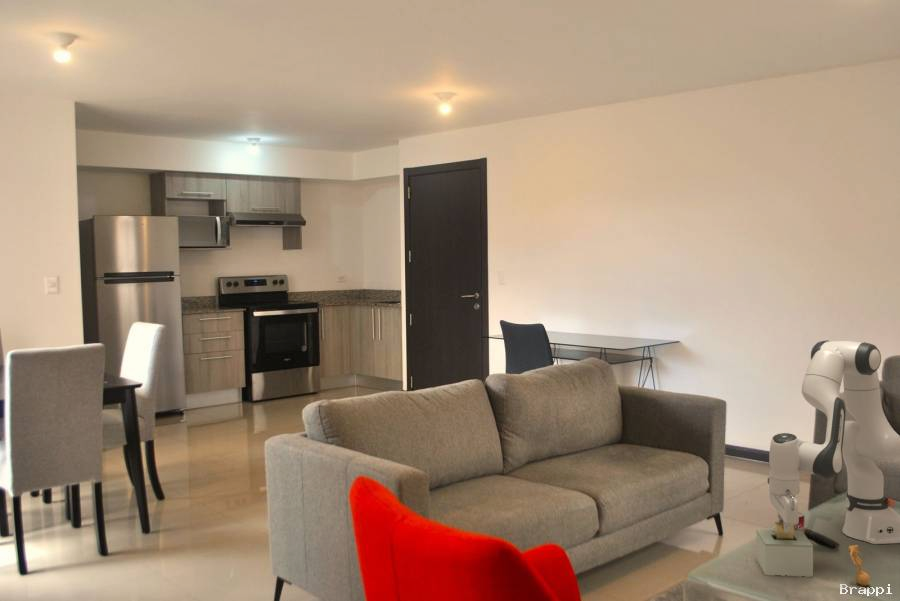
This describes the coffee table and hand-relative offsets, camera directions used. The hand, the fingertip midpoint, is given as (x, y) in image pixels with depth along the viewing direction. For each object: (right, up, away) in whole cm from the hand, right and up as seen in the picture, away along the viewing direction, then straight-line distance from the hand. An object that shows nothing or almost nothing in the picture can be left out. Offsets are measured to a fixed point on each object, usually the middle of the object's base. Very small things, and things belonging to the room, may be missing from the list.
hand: (784, 528), depth 250 cm
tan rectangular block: (0, -4, 0) cm, 4 cm away
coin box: (0, -13, +1) cm, 13 cm away
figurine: (+18, -14, -12) cm, 25 cm away
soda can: (+10, -12, +17) cm, 23 cm away
